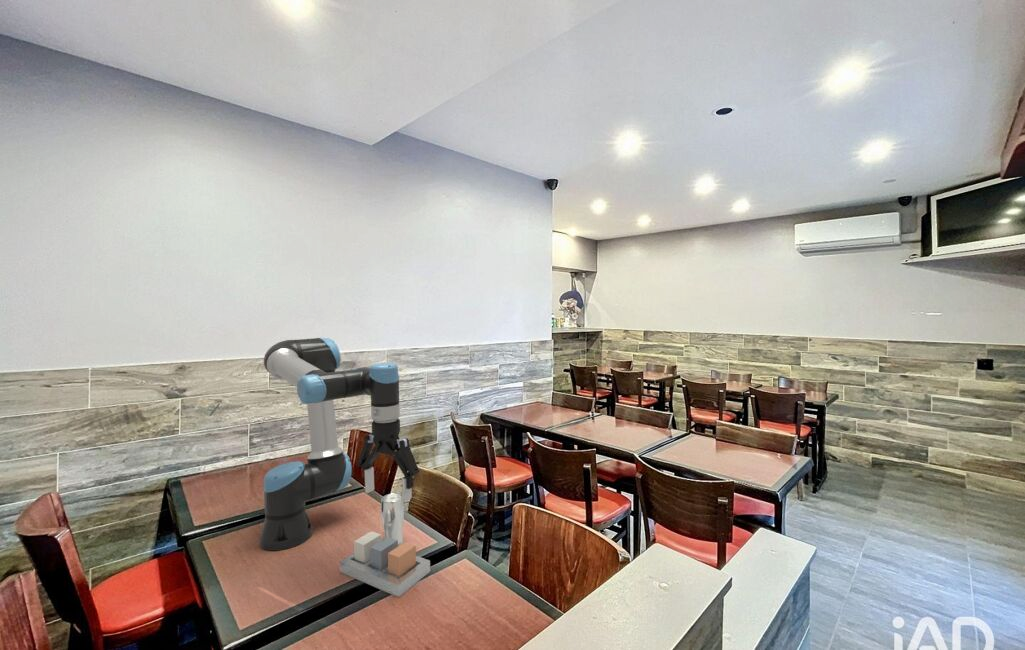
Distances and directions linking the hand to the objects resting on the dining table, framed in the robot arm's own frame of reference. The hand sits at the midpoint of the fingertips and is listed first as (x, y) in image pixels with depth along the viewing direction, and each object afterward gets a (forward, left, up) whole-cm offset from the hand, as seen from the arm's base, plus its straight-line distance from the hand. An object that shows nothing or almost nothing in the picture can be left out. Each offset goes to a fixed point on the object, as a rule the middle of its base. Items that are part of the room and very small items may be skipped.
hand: (388, 495), depth 118 cm
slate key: (0, -2, -18) cm, 18 cm away
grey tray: (0, -2, -22) cm, 22 cm away
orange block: (+6, -2, -18) cm, 19 cm away
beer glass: (-10, +11, -22) cm, 27 cm away
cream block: (-7, -2, -18) cm, 19 cm away
